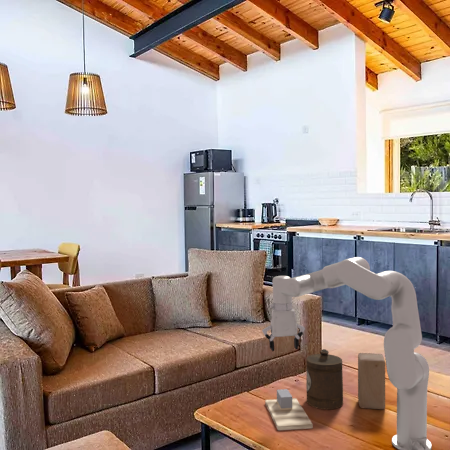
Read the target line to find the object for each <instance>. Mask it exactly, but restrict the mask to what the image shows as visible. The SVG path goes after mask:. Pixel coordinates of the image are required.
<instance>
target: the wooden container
mask: <svg viewBox="0 0 450 450" xmlns="http://www.w3.org/2000/svg"><path fill="white" fill-rule="evenodd" d="M343 373H344V372H343V359H342V358H341V357H339V356H337V355H334V354H330V353H329V350H327V349H321V350H320V351H319V353H315V354H310V355H308V356H307V357H306V377H305V378H306V380H305V381H306V382H305V383H306V384H305V385H306V387H305V388H306V403H307V405H309V406H311V407H313V408H316V409H319V410H320V409H321V410H335V409H339V408H340V407H342V406H343V405H344V381H343V380H344V379H343V378H344V376H343Z"/></svg>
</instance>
